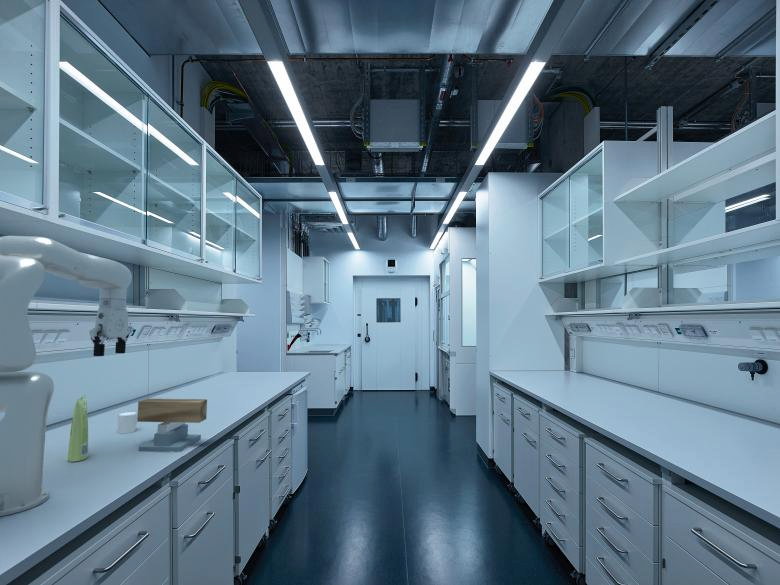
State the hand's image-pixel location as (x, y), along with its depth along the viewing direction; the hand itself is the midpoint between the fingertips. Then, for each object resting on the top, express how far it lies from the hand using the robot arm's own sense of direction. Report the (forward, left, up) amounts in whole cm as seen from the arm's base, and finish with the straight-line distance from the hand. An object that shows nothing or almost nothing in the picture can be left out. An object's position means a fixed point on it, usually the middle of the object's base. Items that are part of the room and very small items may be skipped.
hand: (109, 354), depth 130 cm
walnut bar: (+8, -18, -24) cm, 31 cm away
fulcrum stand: (+8, -18, -32) cm, 38 cm away
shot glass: (+22, +8, -32) cm, 40 cm away
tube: (-7, +3, -32) cm, 33 cm away
